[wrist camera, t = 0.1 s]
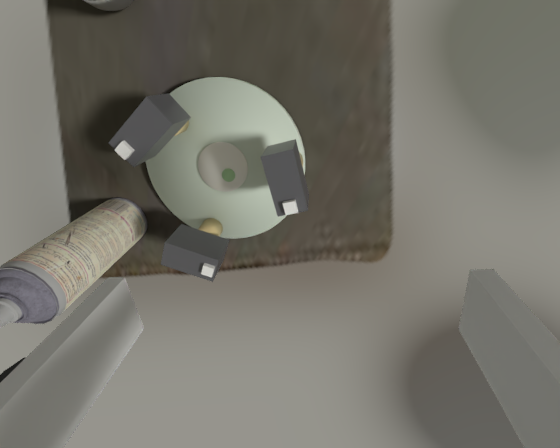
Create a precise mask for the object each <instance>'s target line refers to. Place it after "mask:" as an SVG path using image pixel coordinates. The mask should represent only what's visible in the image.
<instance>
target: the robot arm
mask: <svg viewBox="0 0 560 448" xmlns="http://www.w3.org/2000/svg"><path fill="white" fill-rule="evenodd" d="M143 329H144V327H143V324H142V321H141V319H140V316H139V313H138V311H137V308H136V306H135V303H134V300H133V297H132V295H131V292H130V289H129V287H128V284H127V281H126V279H125V277H117V278H107V279H106V280H105V281H104V282H103V283H102V284H101V285H100V286H99V287H98V288H97V289H96V290H95V291H94V292H93V293H92V294H91V295H90V296H89V297H88V298H87V299H86V300H85V301H84V302H83V303H81V305H79V306H78V307H77V308H76V310H74V311H73V312H72V313H71V314H70V316H68V317H67V318H66V319H65V320H64V321H63V322H62V323H61V324H60V325H59V326H58V327H57V328H56V329H55V330H54V331H53V332H52V333H51V334H50V335H49V336H48V337H47V338H46V339H45V340H44V341H43V342H42V343H41V344H40V345H39V346H37V347H36V348H35V349H34V350H33V351H32V352H31V353H30V354H29V355H28V356H27V357H26V358H23V359H21V360H20V361H18V362H17V363H16V364H14V365H13V366H11V367H10V368H8V369H7V370H5V371H4V372H3V373H2V374H1V375H0V448H64V446H65V445H66V443H67V442H68V440H69V439H70V437H71V436H72V434H73V433H74V431H75V430H76V428H77V427H78V425H79V424H80V423H81V421H82V420H83V418H84V417H85V415H86V414H87V412H88V411H89V409H90V408H91V406H92V405H93V403H94V402H95V400H96V399H97V397H98V396H99V394H100V393H101V391H102V390H103V388H104V387H105V385H106V384H107V383H108V381H109V380H110V378H111V377H112V375H113V374H114V372H115V371H116V369H117V368H118V366H119V365H120V363H121V362H122V360H123V359H124V358H125V356H126V355H127V353H128V352H129V350H130V349H131V347H132V346H133V344H134V343H135V341H136V340H137V338H138V337H139V335H140V334H141V332H142V331H143ZM459 331H460V333H461V334H462V336H463V338H464V340H465V342H466V343H467V345H468V347H469V349H470V351H471V352H472V354H473V356H474V358H475V360H476V362H477V363H478V365H479V367H480V369H481V370H482V372H483V374H484V376H485V378H486V379H487V381H488V383H489V385H490V387H491V388H492V390H493V392H494V394H495V396H496V397H497V399H498V401H499V403H500V405H501V406H502V408H503V410H504V412H505V414H506V415H507V417H508V419H509V421H510V423H511V424H512V426H513V428H514V430H515V432H516V433H517V435H518V437H519V438H520V441H521V442H522V444H523V446H524V448H560V342H559V341H558V340H557V339H556V338H555V336H554V335H553V334H552V333H551V332H550V331H549V330H548V329H547V328H546V326H544V324H543V323H542V322H541V321H540V320H539V319H538V318H537V316H536V315H535V314H534V313H533V312H532V311H531V310H530V309H529V308H528V306H527V305H526V304H525V303H524V302H523V301H522V300H521V299H520V298H519V297H518V295H516V293H515V292H514V291H513V290H512V289H511V288H510V287H509V286H508V284H507V283H506V282H505V281H504V280H503V279H502V278H501V277H500V276H499V275H498V273H497V272H495V270H494V269H485V270H484V269H481V270H470V273H469V278H468V283H467V288H466V293H465V299H464V304H463V309H462V314H461V320H460V324H459Z"/></svg>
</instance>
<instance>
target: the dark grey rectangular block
mask: <svg viewBox="0 0 560 448" xmlns="http://www.w3.org/2000/svg"><path fill="white" fill-rule="evenodd" d="M190 118H191V117H190V116H189V115H188V113H187V112H186V111H185V110H184V109H183V108H182V107H181V106H180V105H179V104H178V103H177V102H176V101H175V100H174V98H173V97H172V96H171V95H170V94H169V93H168V94H161V95H154V96H147V97H146V98H145V99H144V100H143V101H142V102H141V104H140V105H139V106H138V107H137V109H136V110H135V111H134V112H133V113H132V115H131V116H130V117H129V118H128V120H127V121H126V122H125V123H124V124H123V126H122V127H121V128H120V129H119V131H118V132H117V133H116V134H115V135H114V137H113V138H112V139H111V140H110V142H109V144H110V145H111V146H112V147H113V148H114V149H115V151H116V152H117V153H118V154H119V155H120V156H121V157H122V158H123V159H124V160H127V161H128V162H129V163H130V164H131V165H132V166H133V167H135V166H137V165H139V164H141V163H143V162H145V161H147V160H149V159H151V158H153V157H154V156H156V155H157V154H158V153H159V152H160V151H161V150H162V149H163V147H164V146H165V145H166V144H167V143H168V142H169V141H170V140H171V139H172V138H173V137H174V136H176V135H179V134H181V133H183V132H185V131H186V130H187V128H188V126H189V119H190Z"/></svg>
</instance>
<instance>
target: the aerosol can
mask: <svg viewBox="0 0 560 448" xmlns="http://www.w3.org/2000/svg"><path fill="white" fill-rule="evenodd" d="M146 230H147V219H146V217H145V214H144V213H143V211H142V210H141V208H140V207H139V206H137V205H136V204H135V203H134V202H132V201H130V200H128V199H125V198H120V197H117V198H111V199H109V200H107V201H105V202H104V203H102V204H100V205H99V206H97V207H95V208H94V209H92V210H91V211H89V212H87V213H86V214H84V215H82V216H81V217H79V218H78V219H76V220H74V221H73V222H71V223H69V224H68V225H66V226H65V227H63V228H61V229H60V230H58V231H56V232H55V233H53V234H52V235H50V236H48V237H47V238H45V239H43V240H42V241H40V242H39V243H37V244H35V245H34V246H32V247H31V248H29V249H27V250H26V251H24V252H22V253H21V254H19V255H18V256H16V257H14V258H13V259H11V260H9V261H8V262H6V263H4V264H3V265H2V266H1V267H0V328H1V327H3V326H4V325H6V324H7V323H8V322H14V323H16V322H17V323H19V322H20V323H34V324H44V323H47V322H50V321H52V320H53V319H54V318H55V317H56V316H58V315H60V314H61V313H62V312H63V311H64V310H66V309H67V307H69V306H70V305H71V304H72V303H73V302H74V301H75V300H76V299H77V298H78V297H79V296H80V295H81V294H82V293H84V292H85V291H86V290H87V289H88V288H89V287H90V286H91V285H92V284H93V283H94V282H95V281H96V280H97V279H98V278H99V277H100V276H101V275H103V274H104V273H105V272H106V271H107V270H108V269H109V268H110V267H111V266H112V265H113V264H114V263H115V262H116V261H117V260H118V259H119V258H120V257H122V256H123V255H124V254H125V253H126V252H127V251H128V250H129V249H130V248H131V247H132V246H133V245H134V244H135V243H136V242H137V241H138V240H139V239H140V238H141V237H142V236H143V235H144V234H145V233H146Z"/></svg>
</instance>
